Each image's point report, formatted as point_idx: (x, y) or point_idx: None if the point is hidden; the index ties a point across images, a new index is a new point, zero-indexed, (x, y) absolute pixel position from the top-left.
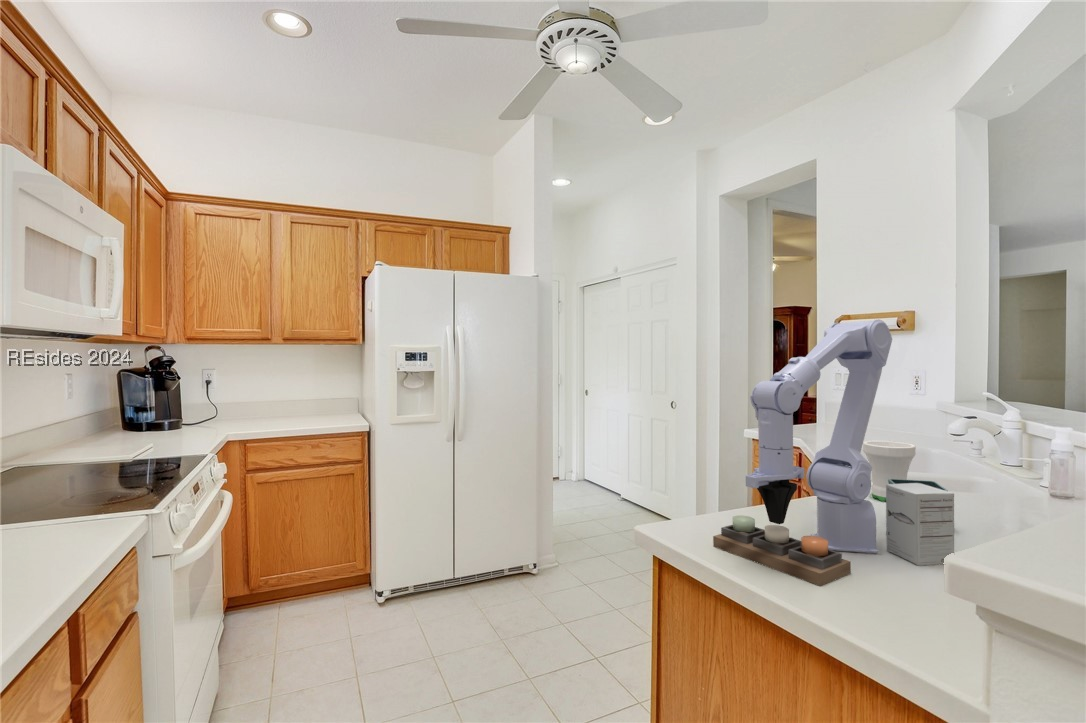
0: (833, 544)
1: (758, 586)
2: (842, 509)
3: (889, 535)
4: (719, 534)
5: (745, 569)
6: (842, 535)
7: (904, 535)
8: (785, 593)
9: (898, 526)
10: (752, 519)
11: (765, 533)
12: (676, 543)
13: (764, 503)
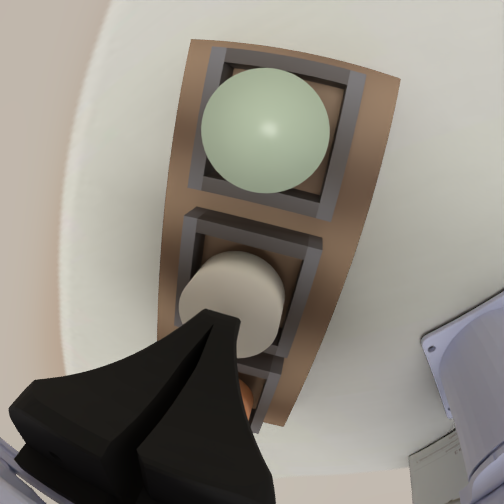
0: (443, 362)
1: (73, 279)
2: (465, 464)
3: None
4: (227, 43)
5: (115, 221)
6: (448, 400)
7: (437, 483)
8: (90, 325)
9: (453, 487)
10: (283, 177)
11: (198, 271)
12: None
13: (144, 349)
